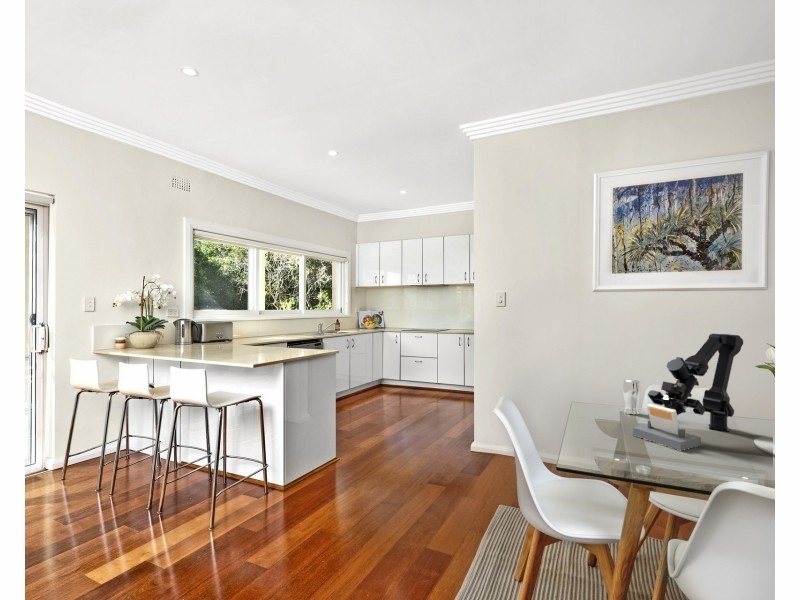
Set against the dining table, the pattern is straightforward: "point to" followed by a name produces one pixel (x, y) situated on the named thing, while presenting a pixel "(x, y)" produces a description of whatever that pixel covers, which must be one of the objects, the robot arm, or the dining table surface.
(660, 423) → the panel
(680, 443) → the base
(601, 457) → the dining table surface
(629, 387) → the beer glass
